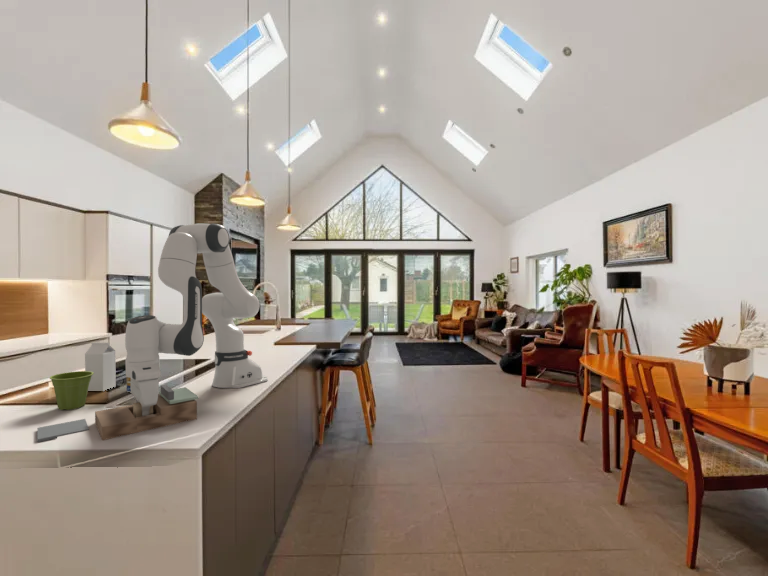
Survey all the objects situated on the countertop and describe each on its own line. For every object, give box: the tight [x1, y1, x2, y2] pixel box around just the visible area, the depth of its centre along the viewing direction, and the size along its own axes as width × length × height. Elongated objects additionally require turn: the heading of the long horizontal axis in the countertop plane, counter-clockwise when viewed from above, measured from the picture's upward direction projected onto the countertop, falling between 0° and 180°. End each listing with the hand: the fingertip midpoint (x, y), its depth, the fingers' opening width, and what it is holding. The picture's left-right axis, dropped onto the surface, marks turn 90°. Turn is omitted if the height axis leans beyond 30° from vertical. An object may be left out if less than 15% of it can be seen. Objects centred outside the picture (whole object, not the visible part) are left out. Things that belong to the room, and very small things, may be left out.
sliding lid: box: [158, 384, 199, 404], centre depth 123 cm, size 8×14×3 cm, turn 43°
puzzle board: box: [94, 393, 198, 441], centre depth 117 cm, size 24×17×6 cm
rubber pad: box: [37, 418, 90, 443], centre depth 111 cm, size 11×11×1 cm
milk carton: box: [84, 342, 117, 392], centre depth 153 cm, size 7×7×19 cm
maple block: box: [132, 402, 153, 418], centre depth 117 cm, size 4×4×6 cm
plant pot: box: [48, 370, 94, 411], centre depth 132 cm, size 12×12×11 cm
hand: (143, 413), depth 117 cm, fingers closed on maple block, 4 cm apart
